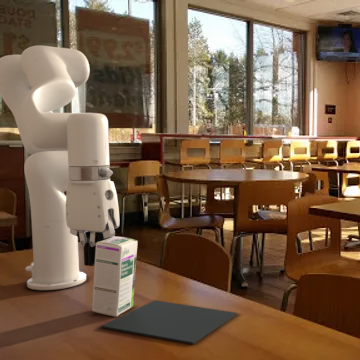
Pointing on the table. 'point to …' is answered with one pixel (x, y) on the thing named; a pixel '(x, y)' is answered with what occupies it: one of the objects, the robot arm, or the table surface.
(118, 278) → the syrup box
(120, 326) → the mat
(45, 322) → the table surface
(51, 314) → the table surface
